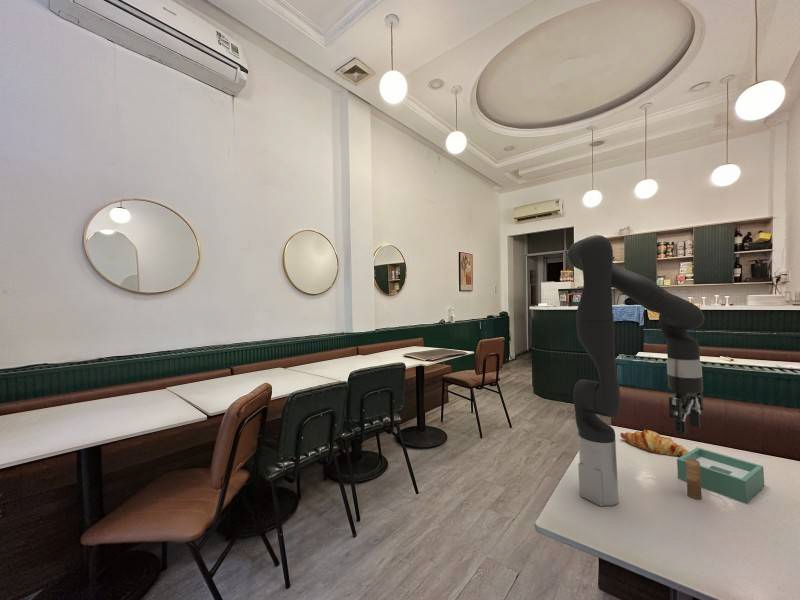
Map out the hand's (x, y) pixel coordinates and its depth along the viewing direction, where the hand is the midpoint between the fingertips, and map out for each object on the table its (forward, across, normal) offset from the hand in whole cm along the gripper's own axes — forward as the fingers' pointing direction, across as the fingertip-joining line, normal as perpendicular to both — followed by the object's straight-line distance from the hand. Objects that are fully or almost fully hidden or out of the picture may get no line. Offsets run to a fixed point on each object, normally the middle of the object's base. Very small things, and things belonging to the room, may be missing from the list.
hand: (688, 429), depth 91 cm
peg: (+19, -1, -1) cm, 19 cm away
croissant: (+20, +23, +20) cm, 36 cm away
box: (+19, +14, -1) cm, 24 cm away
